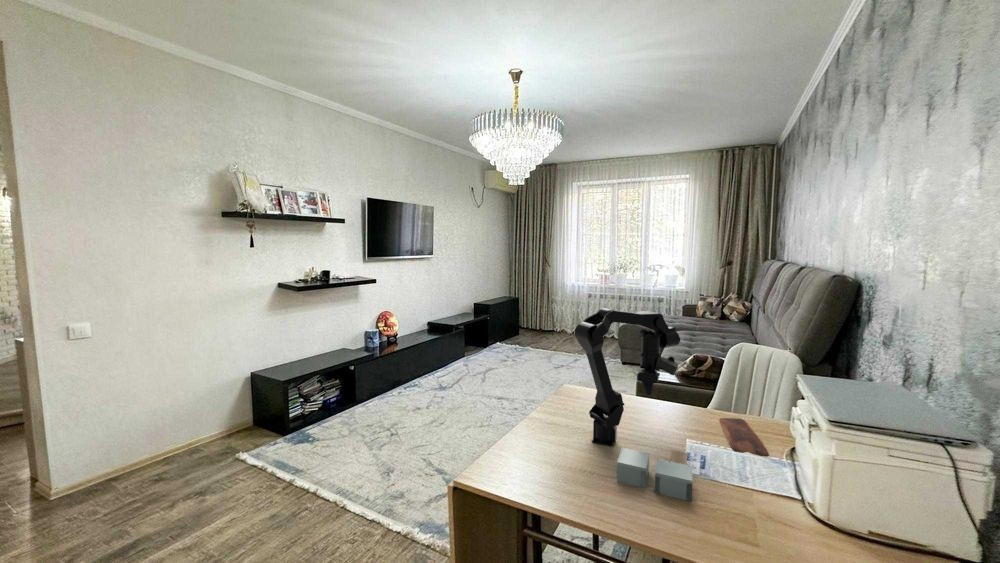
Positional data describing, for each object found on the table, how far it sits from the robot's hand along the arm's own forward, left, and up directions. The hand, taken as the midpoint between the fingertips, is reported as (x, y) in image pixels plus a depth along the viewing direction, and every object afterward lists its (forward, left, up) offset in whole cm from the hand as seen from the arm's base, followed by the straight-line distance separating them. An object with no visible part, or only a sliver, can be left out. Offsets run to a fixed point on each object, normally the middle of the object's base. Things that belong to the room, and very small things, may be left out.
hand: (649, 395), depth 133 cm
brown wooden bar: (+10, -26, -12) cm, 30 cm away
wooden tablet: (+28, +9, -13) cm, 32 cm away
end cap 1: (-1, -31, -12) cm, 33 cm away
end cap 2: (+9, -33, -12) cm, 36 cm away
